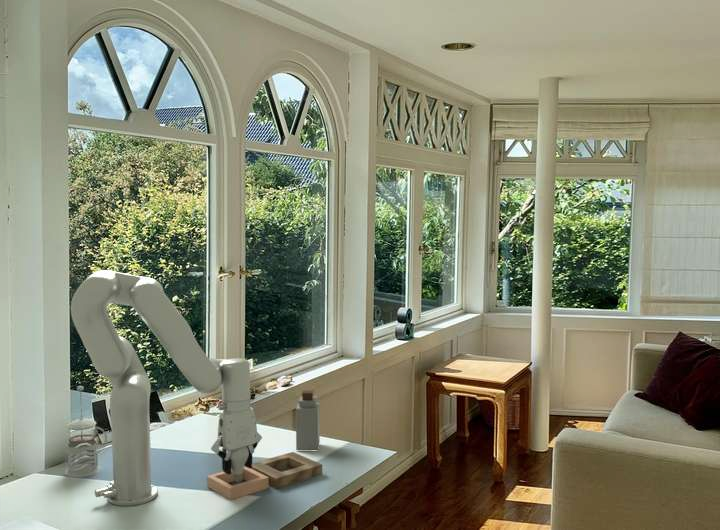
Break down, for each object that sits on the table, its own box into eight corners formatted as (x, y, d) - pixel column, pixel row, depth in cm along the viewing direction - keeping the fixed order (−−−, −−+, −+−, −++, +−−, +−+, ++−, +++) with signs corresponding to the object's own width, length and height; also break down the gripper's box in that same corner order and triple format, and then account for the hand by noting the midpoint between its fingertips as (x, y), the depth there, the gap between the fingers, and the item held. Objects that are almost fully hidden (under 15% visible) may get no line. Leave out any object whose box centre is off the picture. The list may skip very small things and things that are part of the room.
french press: (63, 468, 211) (60, 384, 209) (104, 461, 216) (102, 379, 214) (66, 479, 202) (63, 391, 200) (109, 472, 208) (107, 387, 206)
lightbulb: (237, 488, 192) (236, 447, 191) (221, 482, 196) (221, 443, 195) (254, 481, 197) (253, 441, 196) (238, 476, 201) (237, 437, 200)
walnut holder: (275, 489, 195) (275, 478, 195) (247, 474, 206) (247, 464, 205) (322, 474, 206) (322, 464, 206) (293, 461, 216) (293, 451, 216)
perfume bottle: (317, 451, 225) (317, 394, 224) (296, 451, 226) (295, 394, 224) (319, 444, 232) (319, 389, 231) (298, 444, 232) (298, 389, 231)
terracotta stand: (230, 500, 188) (230, 488, 188) (207, 486, 197) (206, 475, 197) (268, 488, 196) (268, 477, 196) (244, 475, 205) (244, 465, 205)
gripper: (215, 414, 186) (216, 482, 188) (270, 401, 198) (271, 466, 199) (200, 408, 192) (202, 474, 193) (255, 396, 203) (256, 458, 205)
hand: (237, 469), depth 196 cm, fingers closed on lightbulb, 5 cm apart
